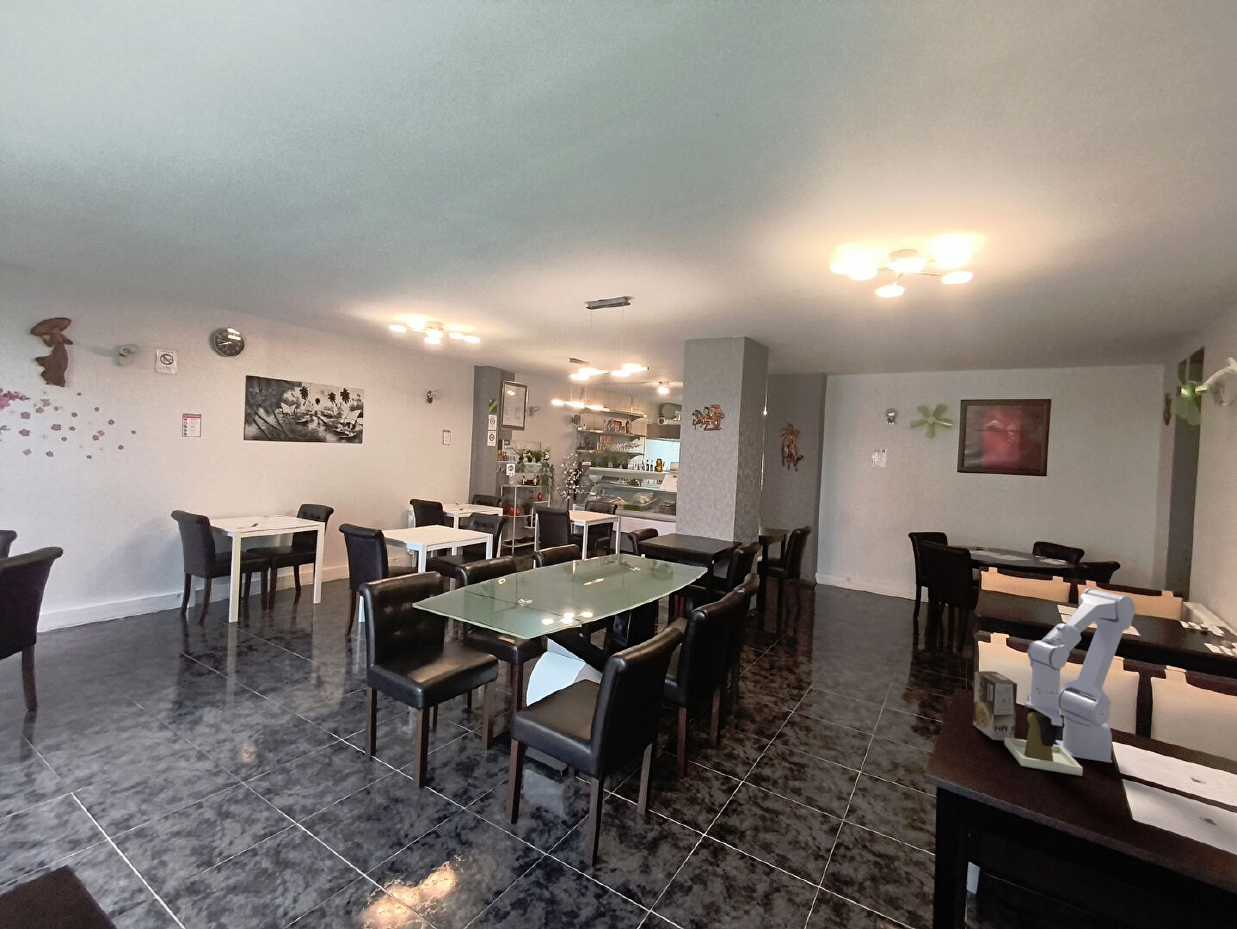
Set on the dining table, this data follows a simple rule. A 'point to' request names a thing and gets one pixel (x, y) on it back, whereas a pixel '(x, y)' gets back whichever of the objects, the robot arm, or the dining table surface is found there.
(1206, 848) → the dining table surface
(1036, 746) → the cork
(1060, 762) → the tray
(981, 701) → the coffee box
